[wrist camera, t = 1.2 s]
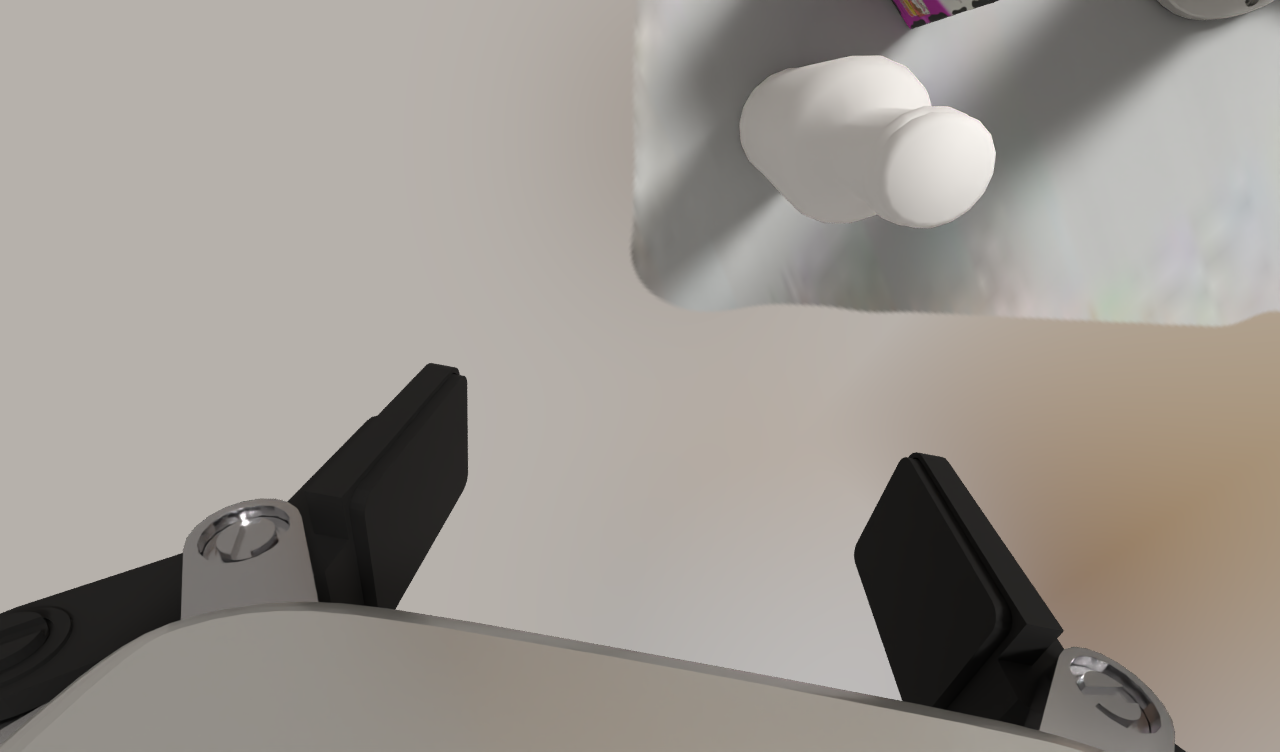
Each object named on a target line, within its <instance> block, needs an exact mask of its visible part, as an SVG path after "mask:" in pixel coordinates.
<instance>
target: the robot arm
mask: <svg viewBox="0 0 1280 752" xmlns="http://www.w3.org/2000/svg"><path fill="white" fill-rule="evenodd" d="M1158 1H1159V2H1160V4H1161V5H1162V6H1164V7H1165V8H1166V9H1168V10H1169V11H1171V12H1172V13H1173V14H1176V15H1179V16H1182V17H1184V18H1187V19H1195V20H1213V19H1223V18H1228V17H1233V16H1238V15H1242V14H1246V13H1248V12H1251V11H1253V10H1256V9H1258V8H1261V7H1264V6H1266V5H1268V4H1270V3H1271V2H1273V1H1275V0H1158ZM467 428H468V426H467V379H466V377H465V376H461V375H460V374H459V370H458V369H457V368H455V367H450V366H444V365H439V364H433V363H429V364H427V365H426V366H425V367H424V368H423V369H422V370H421V371H420V372H419V373H418V374H417V375H416V377H414V378H413V379H412V381H411V382H410V383H409V384H408V385H407V386H406V387H405V388H404V389H403V390H402V391H401V392H400V393H399V394H398V395H397V396H396V397H395V398H394V399H393V400H392V401H391V402H390V403H389V404H388V405H387V407H385V409H383V411H382V412H381V413H380V414H379V415H378V416H374V417H371V418H370V419H369V420H367V421H366V422H365V423H364V425H363V426H361V427H360V428H359V429H358V430H357V431H356V433H355V434H353V436H352V437H351V438H350V439H349V440H348V441H347V442H346V443H345V444H344V445H343V446H342V447H341V448H340V449H339V450H338V451H337V452H336V453H335V454H334V455H333V456H332V457H331V458H330V459H329V460H328V461H327V462H326V463H325V464H324V465H323V466H322V467H321V468H320V469H319V470H318V471H317V472H316V473H315V474H314V475H313V476H312V477H311V478H310V480H308V481H307V482H306V483H305V484H304V485H303V486H302V488H301V489H300V490H298V492H297V493H296V494H295V495H294V496H293V497H292V498H291V499H290V500H289V501H288V502H285V501H282V500H277V499H255V500H249V501H243V502H240V503H237V504H234V505H231V506H228V507H225V508H223V509H221V510H219V511H218V512H216V513H214V514H212V515H210V516H208V517H207V518H206V519H205V520H203V521H202V522H201V523H199V524H198V525H197V526H196V527H195V528H194V529H193V531H192V532H191V533H190V534H189V536H188V537H187V538H186V542H185V545H184V549H183V553H181V554H178V555H175V556H172V557H169V558H166V559H163V560H160V561H157V562H154V563H151V564H148V565H145V566H142V567H139V568H135V569H133V570H129V571H126V572H124V573H120V574H117V575H114V576H111V577H108V578H105V579H102V580H99V581H96V582H93V583H90V584H86V585H83V586H80V587H78V588H74V589H71V590H68V591H65V592H62V593H59V594H56V595H53V596H50V597H47V598H43V599H41V600H37V601H35V602H31V603H28V604H25V605H22V606H19V607H16V608H13V609H11V610H8V611H6V612H3V613H1V614H0V752H1185V751H1184V750H1183V749H1181V748H1180V747H1179V746H1177V745H1176V744H1175V731H1174V726H1173V722H1172V719H1171V717H1170V715H1169V713H1168V712H1167V710H1166V708H1165V706H1164V705H1163V703H1162V702H1161V701H1160V700H1159V699H1158V697H1157V696H1156V695H1155V694H1154V693H1153V691H1152V690H1151V689H1150V688H1149V687H1148V686H1147V685H1145V684H1144V683H1143V682H1142V681H1141V680H1140V679H1139V678H1138V677H1137V676H1136V675H1134V674H1133V673H1132V672H1130V671H1129V670H1127V669H1126V668H1125V667H1123V666H1122V665H1120V664H1119V663H1118V662H1116V661H1114V660H1112V659H1110V658H1108V657H1106V656H1105V655H1103V654H1101V653H1098V652H1095V651H1092V650H1090V649H1087V648H1079V647H1071V648H1068V649H1064V648H1063V647H1062V645H1061V644H1060V642H1059V641H1058V639H1057V638H1058V637H1059V636H1060V635H1061V633H1062V632H1063V629H1062V627H1061V626H1060V624H1059V623H1058V621H1057V620H1056V619H1055V617H1054V616H1053V614H1052V613H1051V611H1050V610H1049V608H1048V607H1047V605H1046V604H1045V602H1044V601H1043V600H1042V598H1041V597H1040V595H1039V594H1038V592H1037V591H1036V589H1035V588H1034V586H1033V585H1032V584H1031V582H1030V581H1029V579H1028V578H1027V576H1026V575H1025V573H1024V572H1023V570H1022V569H1021V568H1020V566H1019V565H1018V563H1017V562H1016V560H1015V559H1014V557H1013V556H1012V554H1011V553H1010V551H1009V550H1008V548H1007V547H1006V545H1005V544H1004V543H1003V541H1002V540H1001V538H1000V537H999V535H998V534H997V532H996V531H995V529H994V528H993V527H992V525H991V524H990V522H989V521H988V519H987V518H986V516H985V515H984V513H983V512H982V510H981V509H980V507H979V506H978V505H977V503H976V502H975V500H974V499H973V497H972V496H971V494H970V493H969V491H968V490H967V488H966V487H965V486H964V484H963V483H962V481H961V480H960V478H959V477H958V475H957V474H956V472H955V471H954V470H953V468H952V466H951V465H950V464H949V462H948V461H947V460H946V459H945V458H943V457H939V456H933V455H928V454H922V453H917V452H916V453H912V454H911V455H910V456H909V457H908V458H907V457H905V458H903V459H901V460H900V462H899V463H898V465H897V467H896V469H895V471H894V473H893V475H892V477H891V479H890V481H889V483H888V484H887V486H886V488H885V490H884V492H883V494H882V496H881V498H880V500H879V502H878V504H877V506H876V507H875V509H874V511H873V513H872V515H871V517H870V519H869V521H868V523H867V525H866V527H865V529H864V530H863V532H862V534H861V536H860V538H859V540H858V542H857V544H856V547H855V552H854V559H855V564H856V567H857V569H858V572H859V575H860V578H861V581H862V584H863V587H864V590H865V593H866V596H867V599H868V601H869V605H870V608H871V610H872V613H873V616H874V619H875V622H876V625H877V628H878V631H879V634H880V637H881V640H882V643H883V645H884V648H885V651H886V654H887V657H888V660H889V663H890V666H891V669H892V672H893V675H894V677H895V681H896V684H897V687H898V689H899V692H900V695H901V698H902V701H899V700H893V699H888V698H883V697H878V696H872V695H867V694H862V693H857V692H851V691H846V690H841V689H835V688H830V687H825V686H820V685H814V684H809V683H804V682H798V681H793V680H788V679H783V678H778V677H772V676H766V675H761V674H756V673H751V672H745V671H740V670H734V669H729V668H724V667H718V666H713V665H707V664H702V663H696V662H691V661H685V660H680V659H674V658H669V657H664V656H658V655H653V654H647V653H641V652H637V651H631V650H626V649H620V648H614V647H609V646H604V645H598V644H592V643H587V642H581V641H576V640H570V639H564V638H559V637H553V636H548V635H542V634H536V633H531V632H525V631H520V630H514V629H508V628H503V627H497V626H492V625H486V624H480V623H475V622H468V621H462V620H456V619H450V618H444V617H437V616H431V615H425V614H419V613H412V612H406V611H400V610H395V609H396V607H397V605H398V604H399V602H400V600H401V598H402V597H403V595H404V593H405V591H406V589H407V588H408V586H409V584H410V583H411V581H412V579H413V577H414V576H415V574H416V572H417V570H418V569H419V567H420V565H421V563H422V562H423V560H424V558H425V556H426V555H427V553H428V551H429V549H430V548H431V546H432V544H433V542H434V541H435V539H436V537H437V535H438V534H439V532H440V530H441V528H442V527H443V525H444V523H445V521H446V520H447V518H448V516H449V514H450V513H451V511H452V509H453V508H454V506H455V504H456V502H457V501H458V498H459V497H460V495H461V494H462V492H463V490H464V487H465V485H466V482H467V476H468V437H467V436H468V435H467V433H468V429H467Z"/></svg>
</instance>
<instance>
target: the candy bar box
mask: <svg viewBox="0 0 1280 752" xmlns="http://www.w3.org/2000/svg"><path fill="white" fill-rule="evenodd" d="M996 1H998V0H892V2H893V3H894V5H895V6H896V8H897V9H898V11H899V13H900V14H901V16H902V17H903V19H904V21H905V22H906V24H907V25H908V27H909V28H910V29H913V28H915V27H919V26H922V25H925V24H928V23H931V22H934V21H937V20H940V19H943V18H946V17H950V16H953V15H955V14H958V13H961V12H963V11H967V10H971V9H974V8H977V7H980V6H984V5H987V4H990V3H994V2H996Z"/></svg>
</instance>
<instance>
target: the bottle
mask: <svg viewBox="0 0 1280 752" xmlns="http://www.w3.org/2000/svg"><path fill="white" fill-rule="evenodd" d="M739 129H740V142H741V145H742V147H743V149H744V151H745V154H746V156H747V158H748V160H749V161H750V162H751V163H752V164H753V165H754V166H755V167H756V168H757V169H758V170H759V171H760V172H761V173H763V175H764V176H765V177H766V178H767V179H768V180H769V181H770V182H771V183H772V184H773V185H774V187H775V188H776V189H777V190H778V191H779V192H780V193H781V194H782V195H783V196H784V197H785V198H786V199H787V200H788V201H789V202H790V203H791V204H792V205H793V206H794V207H795V208H796V209H797V210H798V211H799V212H800V213H801V214H803V215H806V216H808V217H811V218H813V219H816V220H818V221H821V222H823V223H853V222H856V221H859V220H862V219H865V218H868V217H872V216H875V215H879V216H880V217H881V218H883V219H885V220H887V221H890V222H892V223H895V224H897V225H900V226H909V227H911V228H934V227H937V226H940V225H943V224H947V223H950V222H952V221H953V220H955V219H956V218H958V217H959V216H961V215H962V214H964V213H966V212H967V211H969V210H970V209H971V207H972V206H973V205H974V204H975V203H976V202H977V201H978V199H979V198H980V197H981V196H982V195H983V194H984V192H985V190H986V188H987V186H988V184H989V182H990V179H991V177H992V175H993V172H994V164H995V157H996V151H995V148H994V144H993V140H992V136H991V134H990V133H989V131H988V130H987V129H986V128H985V127H984V125H983V124H982V123H981V122H980V121H979V120H977V119H975V118H973V117H970V116H968V115H967V114H965V113H963V112H961V111H958V110H956V109H954V108H951V107H949V106H932V105H931V102H930V99H929V95H928V92H927V90H926V89H925V87H924V86H923V85H922V84H921V83H920V81H919V80H918V79H917V78H916V77H915V76H914V74H913V73H912V72H911V71H910V70H909V69H908V67H906V66H904V65H902V64H899V63H897V62H895V61H893V60H890V59H888V58H886V57H883V56H848V57H844V58H839V59H835V60H830V61H826V62H821V63H817V64H812V65H807V66H803V67H798V68H787V69H785V70H782V71H780V72H777V73H775V74H772V75H770V76H769V77H767V78H766V79H765V80H764V81H763V82H762V83H760V84H759V85H758V86H757V87H756V88H755V89H754V90H753V91H752V93H751V94H750V96H749V98H748V99H747V101H746V103H745V104H744V106H743V110H742V114H741V118H740V123H739Z"/></svg>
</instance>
